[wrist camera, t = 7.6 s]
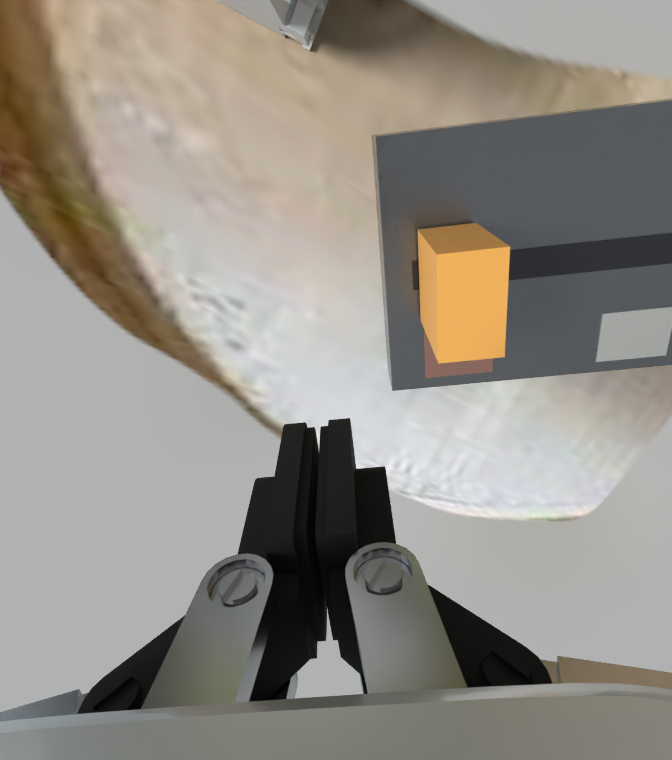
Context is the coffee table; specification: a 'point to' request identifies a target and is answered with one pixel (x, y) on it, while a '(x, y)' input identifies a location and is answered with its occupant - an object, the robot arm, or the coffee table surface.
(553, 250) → the panel
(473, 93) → the coffee table surface
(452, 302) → the block
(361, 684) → the robot arm
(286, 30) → the circuit breaker
